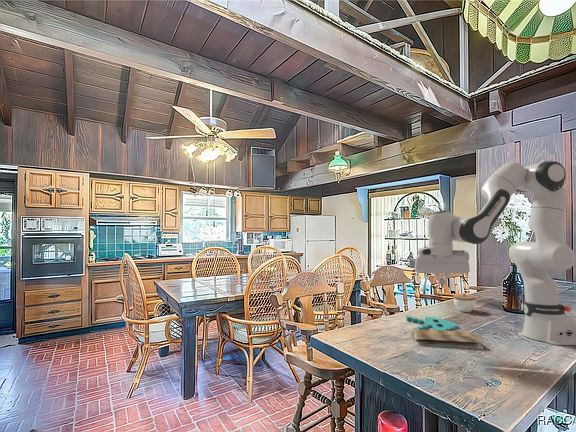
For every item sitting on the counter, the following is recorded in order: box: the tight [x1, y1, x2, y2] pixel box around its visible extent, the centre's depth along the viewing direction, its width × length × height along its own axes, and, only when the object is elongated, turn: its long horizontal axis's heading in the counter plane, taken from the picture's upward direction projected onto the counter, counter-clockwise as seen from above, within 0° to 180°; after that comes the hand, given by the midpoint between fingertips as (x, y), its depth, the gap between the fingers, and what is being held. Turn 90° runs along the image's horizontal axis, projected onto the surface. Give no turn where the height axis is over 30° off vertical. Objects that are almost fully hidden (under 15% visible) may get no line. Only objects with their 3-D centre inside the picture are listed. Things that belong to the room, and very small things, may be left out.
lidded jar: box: [452, 292, 477, 313], centre depth 170 cm, size 11×11×9 cm
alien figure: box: [405, 315, 460, 331], centre depth 145 cm, size 20×2×20 cm
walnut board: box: [411, 328, 477, 339], centre depth 129 cm, size 23×6×2 cm, turn 75°
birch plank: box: [414, 333, 483, 344], centre depth 123 cm, size 23×6×2 cm, turn 75°
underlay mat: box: [411, 332, 485, 350], centre depth 126 cm, size 24×13×1 cm, turn 75°
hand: (442, 284), depth 128 cm, fingers closed
